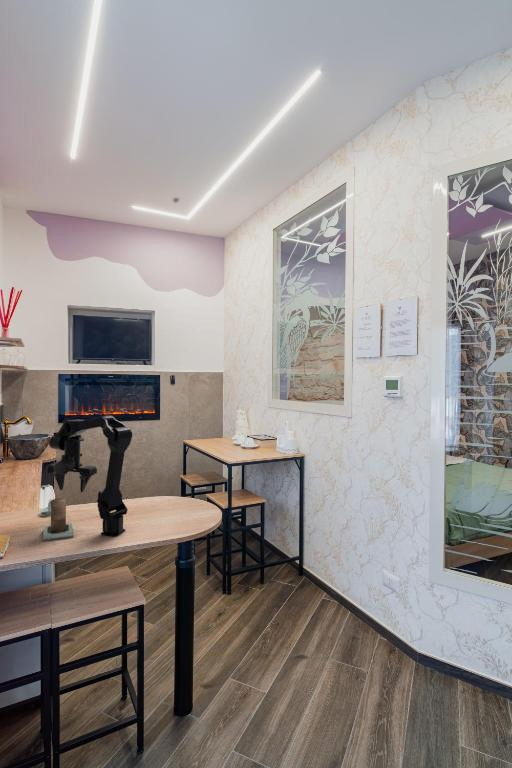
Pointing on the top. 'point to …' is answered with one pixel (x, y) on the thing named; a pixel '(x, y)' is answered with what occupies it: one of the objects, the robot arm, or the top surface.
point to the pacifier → (46, 510)
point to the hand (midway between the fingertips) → (71, 491)
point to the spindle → (58, 515)
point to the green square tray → (59, 535)
